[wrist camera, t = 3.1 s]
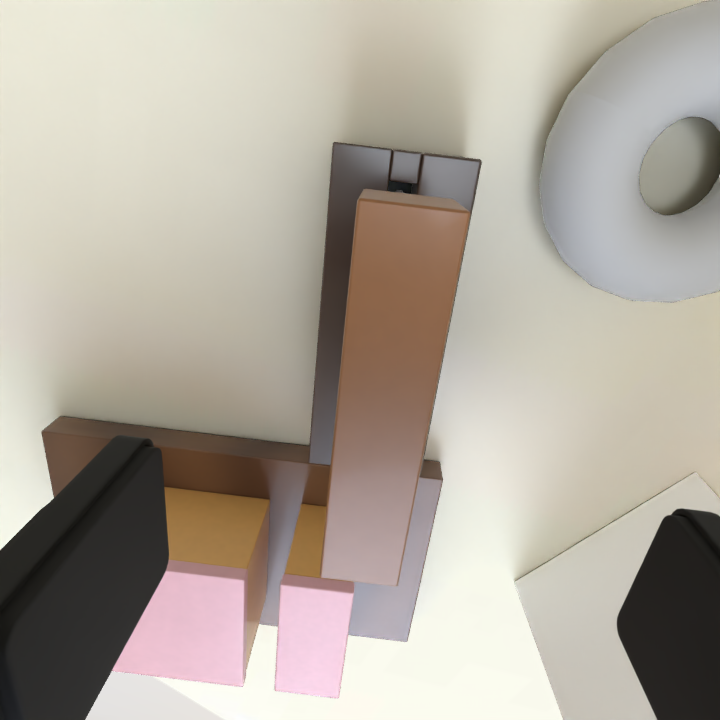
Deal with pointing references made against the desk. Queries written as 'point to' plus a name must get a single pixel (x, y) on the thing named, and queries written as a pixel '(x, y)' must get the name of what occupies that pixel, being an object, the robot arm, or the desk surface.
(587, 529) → the desk surface
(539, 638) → the milk
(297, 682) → the cake slice
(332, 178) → the cutter stand
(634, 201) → the donut
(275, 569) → the cutting board
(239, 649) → the loaf cake
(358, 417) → the bar
